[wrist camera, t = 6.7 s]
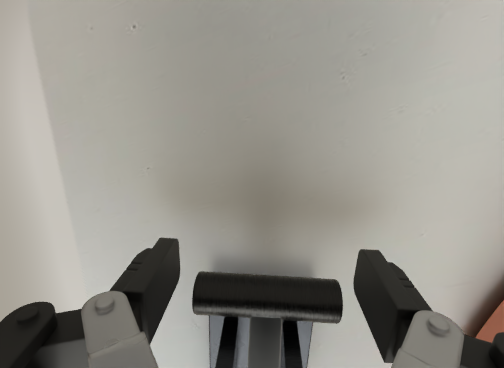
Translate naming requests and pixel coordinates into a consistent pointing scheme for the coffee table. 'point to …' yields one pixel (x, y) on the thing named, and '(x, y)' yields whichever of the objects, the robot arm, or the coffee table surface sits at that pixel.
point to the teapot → (493, 325)
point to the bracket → (237, 338)
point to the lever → (267, 306)
